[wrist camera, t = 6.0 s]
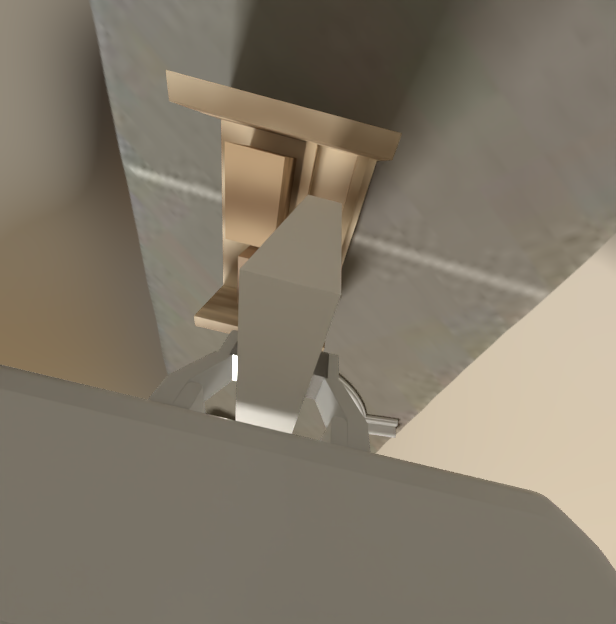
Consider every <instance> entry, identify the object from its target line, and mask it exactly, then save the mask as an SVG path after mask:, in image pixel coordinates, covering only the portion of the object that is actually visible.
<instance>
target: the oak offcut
mask: <svg viewBox="0 0 616 624" xmlns="http://www.w3.org/2000/svg"><path fill="white" fill-rule="evenodd" d="M296 161H297V158H294V157H290V156H286V155H283V154H279V153H275V152H271V151H268V150H264V149H260V148H256V147H252V146H248V145H242V144H237V143H231V142H226V141H225V239H228V240H232V241H236V242H240V243H244V244H248V245H252V246H256V247H260V246H261V245H262V244H263V243H264V242H265V241H266V240H267V239H268V238H269V237H270V236H271V234H272V233H273V232H274V231H275V230H276V229H277V228H278V227H279V226H280V225H281V224H282V222H283V221H284V220H285V219H286V218H287V217H288V214H289V207H290V201H291V194H292V187H293V181H294V174H295V167H296Z"/></svg>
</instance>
